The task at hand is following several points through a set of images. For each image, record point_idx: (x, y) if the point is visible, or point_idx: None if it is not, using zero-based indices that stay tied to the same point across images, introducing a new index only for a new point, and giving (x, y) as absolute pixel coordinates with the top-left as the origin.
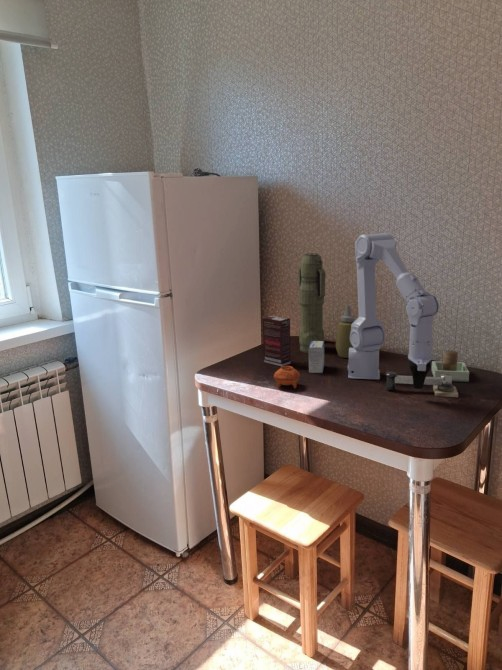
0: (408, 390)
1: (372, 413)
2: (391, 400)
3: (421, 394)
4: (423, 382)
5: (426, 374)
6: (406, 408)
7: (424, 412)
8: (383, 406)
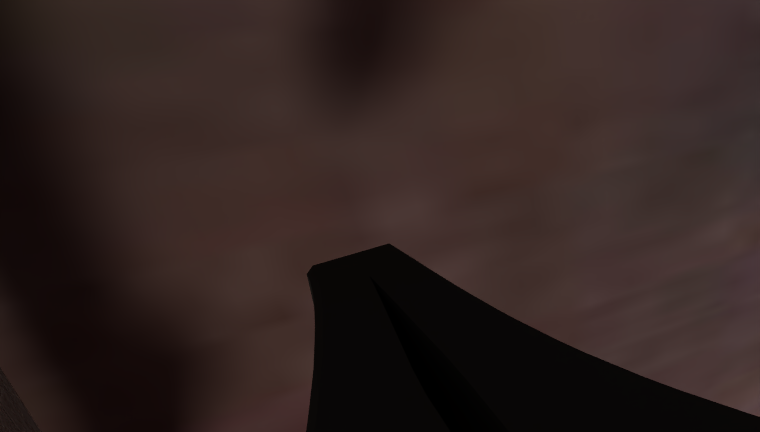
0: None
1: None
2: None
3: (89, 204)
4: (468, 298)
5: (702, 399)
6: (589, 250)
7: (676, 73)
8: None
